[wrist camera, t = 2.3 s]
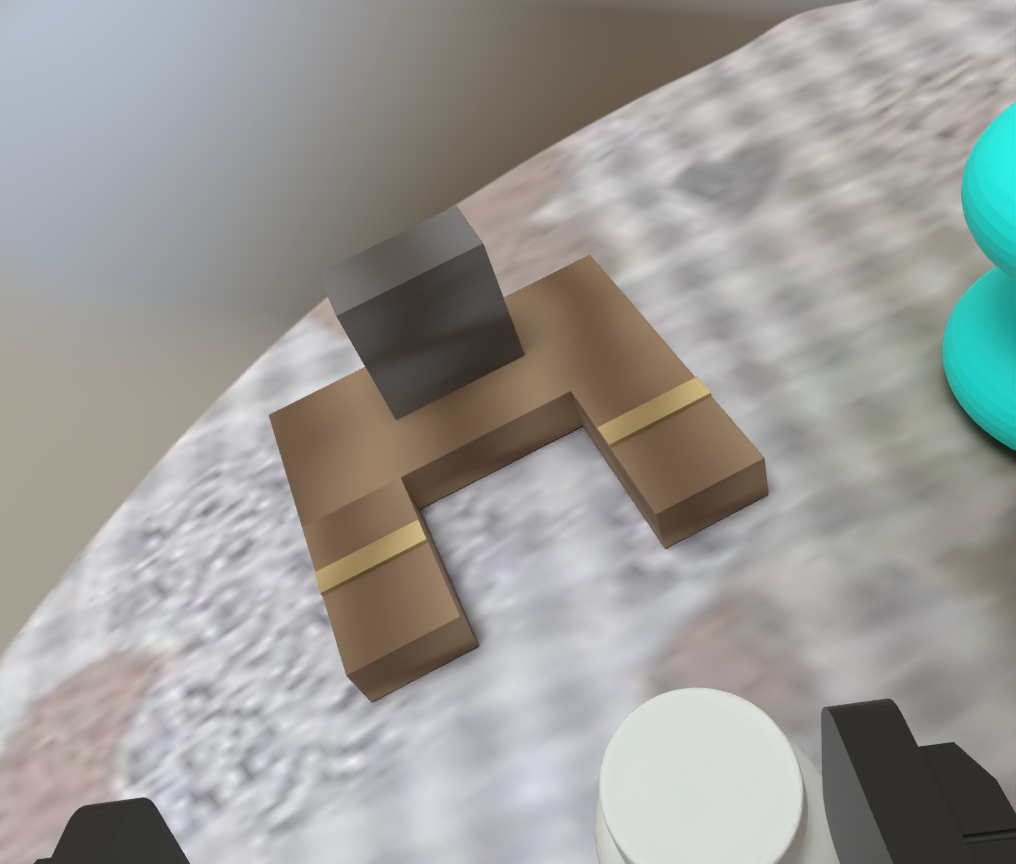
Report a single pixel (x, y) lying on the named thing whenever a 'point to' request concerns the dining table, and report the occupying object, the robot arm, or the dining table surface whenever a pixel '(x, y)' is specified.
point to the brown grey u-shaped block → (480, 429)
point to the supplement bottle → (708, 787)
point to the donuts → (988, 288)
